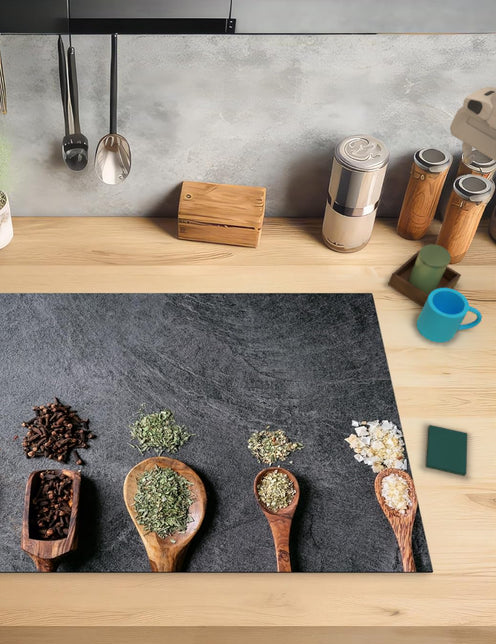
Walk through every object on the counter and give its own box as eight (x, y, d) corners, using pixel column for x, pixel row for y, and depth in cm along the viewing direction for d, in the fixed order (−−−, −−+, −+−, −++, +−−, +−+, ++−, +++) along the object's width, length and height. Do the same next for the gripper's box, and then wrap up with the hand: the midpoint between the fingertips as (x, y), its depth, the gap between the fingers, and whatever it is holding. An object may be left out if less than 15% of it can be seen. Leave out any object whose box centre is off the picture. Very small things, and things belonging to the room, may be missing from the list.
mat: (428, 427, 143) (429, 424, 142) (465, 435, 141) (467, 433, 141) (425, 467, 137) (427, 464, 137) (464, 476, 136) (466, 473, 135)
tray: (455, 285, 164) (461, 274, 161) (428, 311, 160) (433, 300, 157) (415, 260, 169) (419, 249, 166) (387, 284, 164) (391, 274, 162)
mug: (417, 339, 155) (429, 315, 149) (415, 310, 160) (426, 285, 153) (476, 347, 154) (490, 322, 147) (472, 317, 159) (486, 292, 152)
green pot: (443, 283, 164) (456, 255, 156) (426, 299, 161) (439, 270, 154) (418, 268, 166) (430, 239, 159) (401, 283, 164) (413, 254, 157)
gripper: (573, 134, 131) (540, 195, 142) (479, 83, 141) (455, 144, 152) (551, 146, 129) (520, 208, 139) (457, 94, 139) (435, 155, 150)
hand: (485, 174), depth 146 cm, fingers open, 8 cm apart
